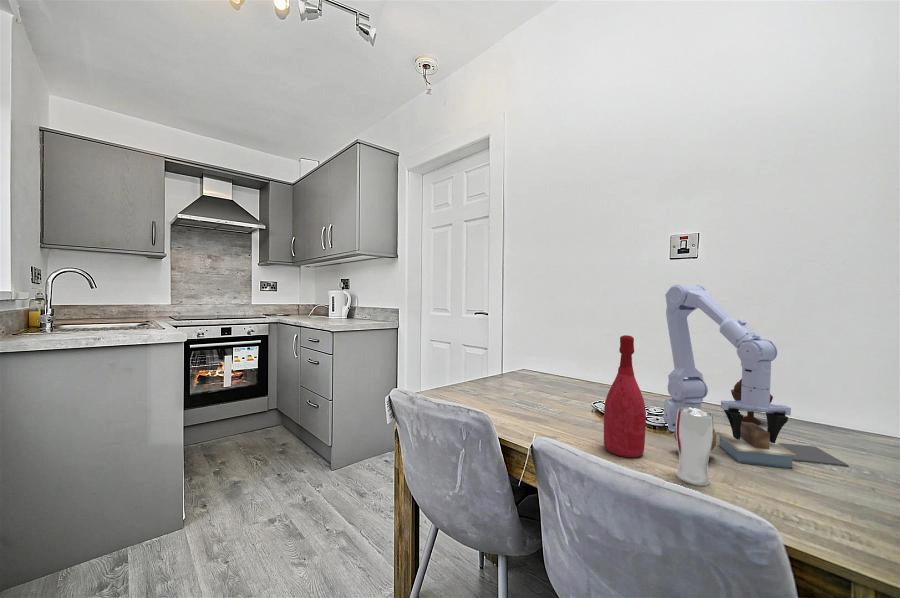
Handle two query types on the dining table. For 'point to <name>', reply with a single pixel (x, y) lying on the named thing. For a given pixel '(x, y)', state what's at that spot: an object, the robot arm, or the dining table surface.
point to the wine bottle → (625, 408)
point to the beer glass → (694, 444)
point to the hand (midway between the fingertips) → (753, 439)
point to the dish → (756, 457)
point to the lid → (755, 441)
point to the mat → (812, 455)
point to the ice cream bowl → (737, 397)
